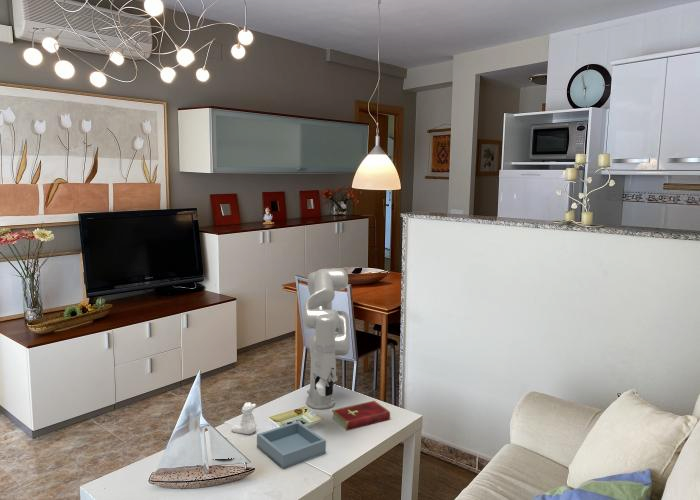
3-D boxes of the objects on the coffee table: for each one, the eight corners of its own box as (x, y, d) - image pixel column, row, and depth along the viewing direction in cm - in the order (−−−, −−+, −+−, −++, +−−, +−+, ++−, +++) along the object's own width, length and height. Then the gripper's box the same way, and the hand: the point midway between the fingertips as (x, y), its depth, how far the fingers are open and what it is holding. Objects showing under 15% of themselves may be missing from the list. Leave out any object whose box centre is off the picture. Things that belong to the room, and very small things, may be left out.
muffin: (325, 399, 203) (326, 381, 202) (312, 395, 206) (312, 377, 205) (334, 393, 208) (335, 376, 207) (321, 389, 211) (321, 372, 210)
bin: (256, 447, 197) (257, 434, 196) (297, 433, 208) (298, 421, 207) (282, 469, 183) (283, 455, 182) (325, 453, 194) (325, 440, 193)
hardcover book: (389, 420, 222) (390, 411, 222) (346, 431, 212) (346, 421, 211) (373, 409, 233) (374, 399, 232) (331, 419, 222) (331, 409, 221)
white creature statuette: (249, 423, 215) (249, 394, 213) (263, 430, 209) (264, 401, 208) (230, 431, 208) (230, 402, 206) (244, 439, 202) (244, 409, 200)
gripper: (304, 342, 208) (302, 386, 211) (330, 356, 195) (329, 402, 198) (319, 339, 213) (318, 382, 216) (346, 352, 200) (345, 397, 203)
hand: (323, 391), depth 207 cm, fingers closed on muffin, 6 cm apart
